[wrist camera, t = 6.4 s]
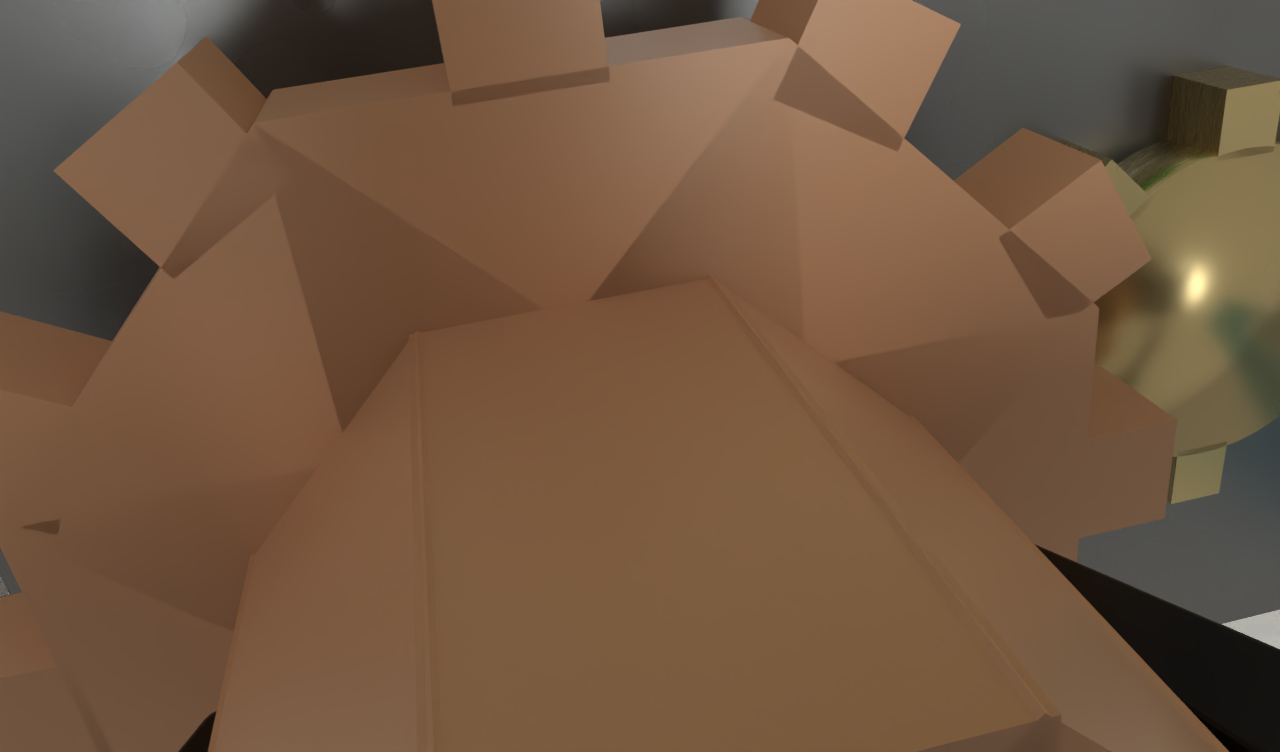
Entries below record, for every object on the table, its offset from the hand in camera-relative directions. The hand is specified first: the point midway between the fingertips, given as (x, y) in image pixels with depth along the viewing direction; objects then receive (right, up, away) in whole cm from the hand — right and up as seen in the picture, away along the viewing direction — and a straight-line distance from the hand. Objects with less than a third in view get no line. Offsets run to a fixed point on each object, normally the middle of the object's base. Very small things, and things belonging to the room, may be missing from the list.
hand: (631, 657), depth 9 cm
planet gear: (0, +1, +2) cm, 2 cm away
